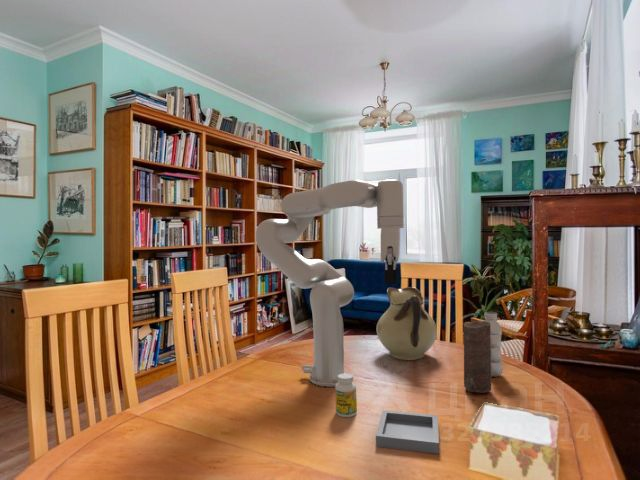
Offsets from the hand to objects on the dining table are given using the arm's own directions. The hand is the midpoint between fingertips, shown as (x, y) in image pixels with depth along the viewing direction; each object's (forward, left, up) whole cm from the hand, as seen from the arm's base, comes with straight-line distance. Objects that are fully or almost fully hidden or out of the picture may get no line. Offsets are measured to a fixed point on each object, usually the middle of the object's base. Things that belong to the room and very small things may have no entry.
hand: (391, 282), depth 114 cm
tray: (+5, -25, -32) cm, 41 cm away
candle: (+23, +5, -32) cm, 40 cm away
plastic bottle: (+29, +20, -32) cm, 48 cm away
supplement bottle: (-11, -17, -32) cm, 38 cm away
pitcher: (+2, +36, -32) cm, 49 cm away
